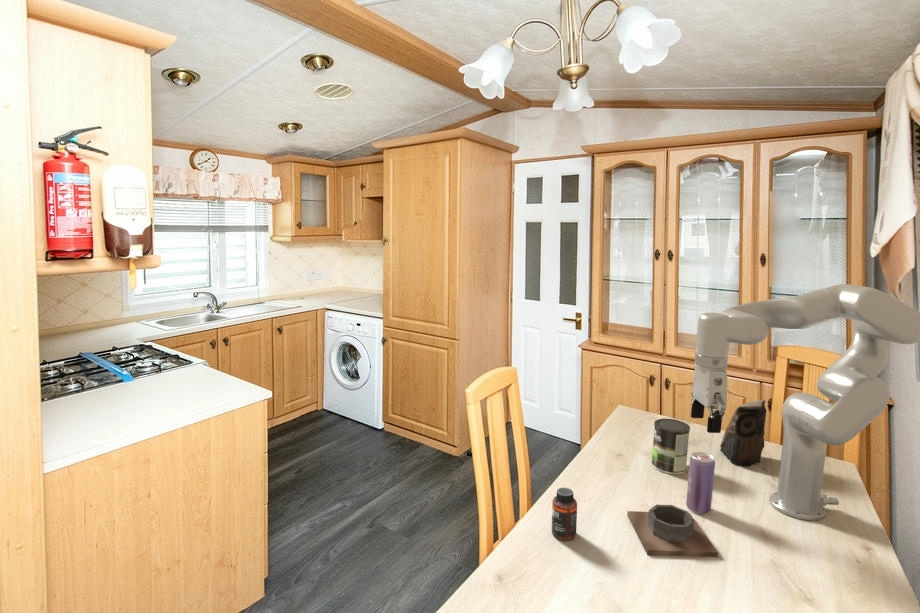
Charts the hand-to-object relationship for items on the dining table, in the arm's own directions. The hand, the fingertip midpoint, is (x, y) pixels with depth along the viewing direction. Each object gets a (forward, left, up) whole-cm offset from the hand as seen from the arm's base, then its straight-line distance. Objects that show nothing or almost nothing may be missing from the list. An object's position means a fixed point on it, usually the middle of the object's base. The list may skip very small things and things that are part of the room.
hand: (705, 424), depth 131 cm
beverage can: (0, 0, -24) cm, 24 cm away
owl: (-27, -32, -24) cm, 48 cm away
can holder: (+12, +12, -24) cm, 29 cm away
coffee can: (-1, -24, -24) cm, 34 cm away
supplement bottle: (+38, +13, -24) cm, 47 cm away
